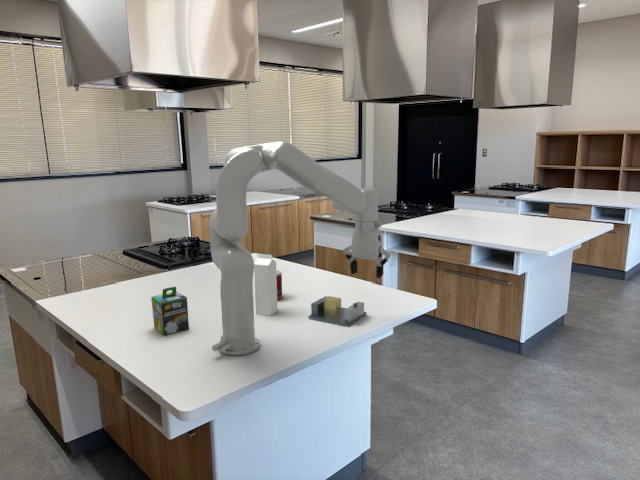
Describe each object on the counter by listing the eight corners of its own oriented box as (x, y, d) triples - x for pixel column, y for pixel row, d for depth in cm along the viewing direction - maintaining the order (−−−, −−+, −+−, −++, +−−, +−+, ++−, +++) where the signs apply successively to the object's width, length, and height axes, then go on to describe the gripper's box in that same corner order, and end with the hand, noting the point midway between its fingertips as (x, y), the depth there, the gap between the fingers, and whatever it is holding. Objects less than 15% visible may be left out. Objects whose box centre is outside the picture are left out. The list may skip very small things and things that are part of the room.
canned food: (279, 302, 184) (278, 275, 182) (259, 301, 185) (258, 274, 183) (284, 296, 191) (283, 270, 189) (265, 295, 193) (265, 269, 191)
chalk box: (179, 322, 164) (176, 281, 161) (190, 329, 157) (187, 287, 154) (153, 328, 158) (149, 286, 155) (163, 336, 151) (159, 292, 148)
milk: (263, 309, 176) (261, 252, 172) (277, 310, 174) (276, 253, 170) (255, 314, 171) (253, 255, 167) (270, 316, 169) (268, 256, 165)
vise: (348, 327, 157) (348, 312, 156) (308, 318, 165) (308, 305, 165) (366, 314, 169) (366, 301, 168) (328, 307, 177) (328, 294, 176)
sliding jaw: (351, 322, 159) (351, 308, 158) (344, 320, 160) (344, 306, 159) (364, 313, 167) (364, 300, 166) (357, 312, 168) (357, 298, 167)
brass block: (335, 316, 165) (335, 301, 164) (323, 313, 168) (323, 299, 166) (341, 312, 168) (341, 298, 167) (329, 310, 171) (329, 296, 170)
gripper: (395, 225, 154) (394, 276, 157) (349, 222, 163) (350, 269, 166) (385, 229, 147) (384, 281, 151) (338, 225, 157) (339, 274, 160)
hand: (366, 275), depth 159 cm, fingers open, 9 cm apart
